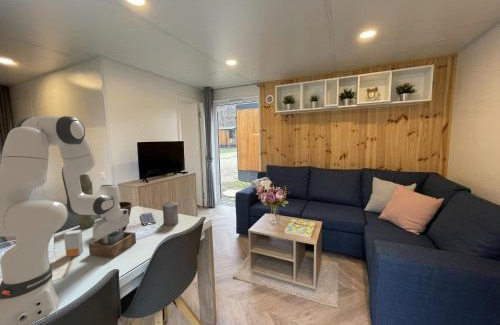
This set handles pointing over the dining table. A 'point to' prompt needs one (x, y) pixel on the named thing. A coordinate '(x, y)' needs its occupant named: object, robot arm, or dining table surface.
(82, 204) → the robot arm
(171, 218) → the pillar candle
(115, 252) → the big crate
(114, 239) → the box
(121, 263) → the dining table surface
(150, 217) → the solar panel
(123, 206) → the plant pot
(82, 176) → the thermos
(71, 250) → the skincare box
